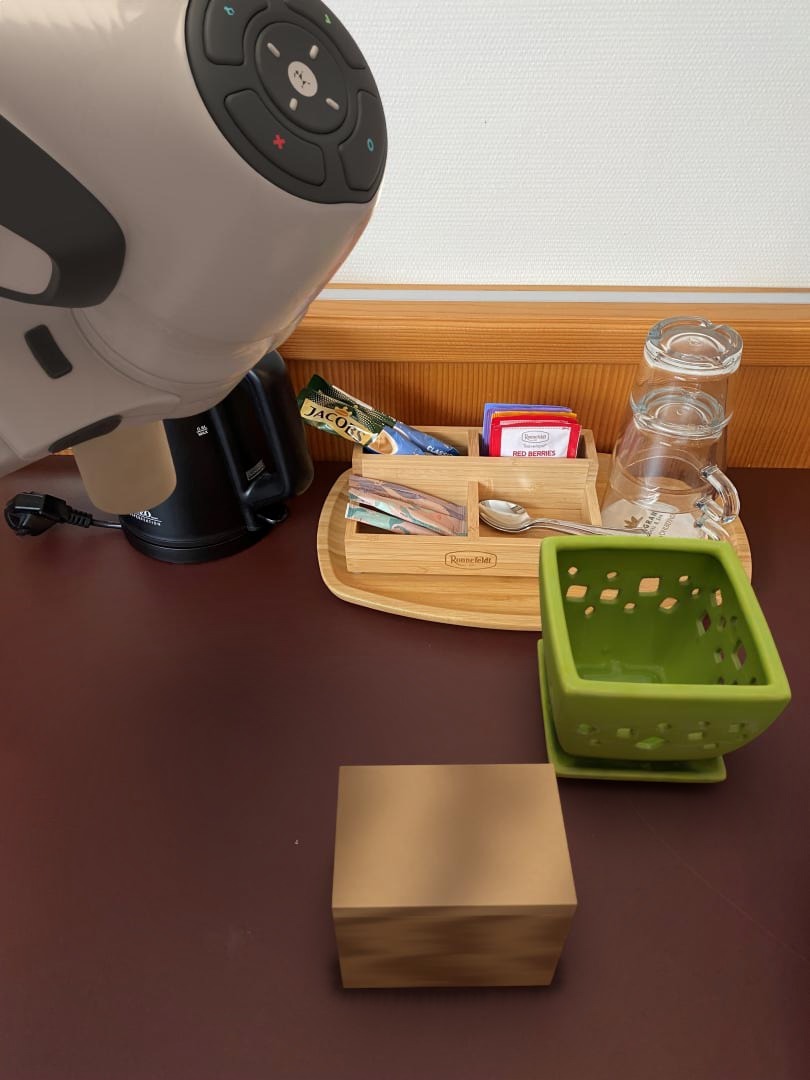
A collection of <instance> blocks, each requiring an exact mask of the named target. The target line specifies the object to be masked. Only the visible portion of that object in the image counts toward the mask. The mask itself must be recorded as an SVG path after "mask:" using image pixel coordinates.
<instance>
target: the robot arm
mask: <svg viewBox="0 0 810 1080" xmlns="http://www.w3.org/2000/svg"><path fill="white" fill-rule="evenodd" d="M349 31H350V30H348V28H347V27H346V26H345V25H344V24H343V22H342V20H341V19H339V17H338V16H337V15H336V14H335V13H334V12H333V10H332V9H331V8H330V7H329V6H328V5H327V4H326V3H325V2H324V1H323V0H0V479H1V478H3V477H5V476H7V475H10V474H11V473H13V472H15V471H18V470H20V469H21V468H24V467H27V466H29V465H31V464H33V463H35V462H37V461H39V460H41V459H44V458H46V457H49V456H50V455H55V454H58V453H60V452H62V451H65V450H68V449H69V448H71V447H73V446H75V445H78V444H80V443H83V442H85V441H88V440H91V439H94V438H97V437H100V436H103V435H106V434H108V433H110V432H112V431H116V430H120V429H125V428H130V427H135V426H140V425H145V424H150V423H154V422H157V421H160V420H162V421H163V420H165V419H166V420H167V419H168V420H169V419H172V420H173V419H181V418H187V417H192V416H195V415H199V414H201V413H203V412H206V411H208V410H210V409H212V408H213V407H215V406H216V405H218V404H219V403H221V402H222V401H223V400H224V399H225V398H226V397H227V396H228V395H229V394H230V393H231V392H232V391H233V390H234V389H235V387H236V386H238V384H239V383H240V382H241V381H242V380H243V379H244V378H245V377H246V376H247V375H248V373H250V371H251V370H252V369H253V368H254V367H255V366H256V365H257V364H258V363H259V362H260V361H261V359H262V358H264V356H265V355H268V354H270V353H271V352H273V351H274V350H276V349H278V348H279V347H281V346H282V345H283V344H284V343H285V342H286V341H288V339H289V338H290V337H291V335H292V334H293V333H294V332H295V331H296V330H297V328H298V326H299V325H300V324H301V322H303V320H304V318H305V317H306V315H307V314H308V311H309V309H310V305H311V304H312V303H313V302H314V301H315V300H316V299H317V297H318V296H319V295H320V294H321V292H323V290H324V289H325V288H326V287H327V285H328V284H329V283H330V281H331V280H332V279H333V278H334V276H335V275H336V273H338V271H339V270H340V268H341V267H342V266H343V264H345V262H346V260H347V259H348V257H349V256H350V255H351V253H352V252H353V250H354V248H355V247H356V245H357V244H358V242H359V240H360V239H361V237H362V236H363V234H364V232H365V231H366V229H367V227H368V225H369V224H370V222H371V220H372V217H373V216H374V213H375V211H376V208H377V206H378V203H379V200H380V198H381V195H382V191H383V186H384V183H385V179H386V178H385V177H386V171H387V163H388V152H389V151H388V149H389V142H388V141H389V140H388V128H387V121H386V119H387V118H386V115H385V109H384V105H383V101H382V98H381V95H380V90H379V88H378V84H377V82H376V79H375V76H374V74H373V72H372V70H371V68H370V66H369V64H368V61H367V59H366V58H365V56H364V53H363V52H362V50H361V48H360V47H359V45H358V43H357V41H356V40H355V38H354V37H353V35H351V33H350V32H349Z"/></svg>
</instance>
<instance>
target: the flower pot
mask: <svg viewBox="0 0 810 1080" xmlns="http://www.w3.org/2000/svg"><path fill="white" fill-rule="evenodd" d="M538 553H539V554H538V592H539V611H540V613H539V614H540V623H541V635H542V638H541V639H538V640H537V643H536V645H537V647H536V648H537V665H538V677H539V678H538V679H539V689H540V690H539V691H540V700H541V708H542V718H543V726H544V736H545V744H546V753H547V759H548V760H547V761H548V764H554V768H555V774H556V778H567V779H585V780H607V781H608V780H609V781H631V782H632V781H633V782H634V781H635V782H659V783H660V782H661V783H685V784H686V783H687V784H715V783H720V782H723V781H725V780H726V779H727V769H726V765H725V762H724V759H723V755H726V754H729V753H731V752H734V751H735V750H738V749H740V748H741V747H743V746H745V745H747V744H748V743H750V742H752V741H753V740H755V739H756V738H757V737H759V736H760V735H761V734H763V733H764V732H765V731H766V730H767V729H768V728H769V727H770V726H771V725H772V724H773V723H774V722H775V721H776V719H777V718H778V717H779V716H780V715H781V714H782V712H783V711H784V710H785V708H786V707H787V706H788V704H789V703H790V701H791V699H792V691H791V687H790V684H789V681H788V677H787V674H786V672H785V669H784V666H783V663H782V660H781V657H780V654H779V651H778V649H777V646H776V643H775V641H774V638H773V635H772V632H771V629H770V628H769V625H768V622H767V620H766V617H765V615H764V611H763V610H762V608H761V605H760V603H759V600H758V598H757V596H756V594H755V591H754V589H753V586H752V584H751V582H750V579H749V577H748V575H747V572H746V570H745V568H744V566H743V565H742V564H743V563H742V562H741V560H740V558H739V556H738V554H737V552H736V550H735V548H734V546H733V545H732V544H731V543H729V542H728V541H724V540H717V539H705V538H693V537H692V538H691V537H676V536H675V537H673V536H648V535H622V534H621V535H619V534H617V535H615V534H614V535H613V534H612V535H608V534H607V535H606V534H605V535H602V534H599V535H598V534H573V535H571V534H570V535H553V536H552V535H551V536H546V537H543V538H542V540H541V542H540V547H539V552H538ZM572 568H575V569H576V571H575V572H574V573H571V572H570V570H571V569H572ZM613 573H616V574H615V575H613V576H611V577H608V575H609V574H613ZM682 577H687V578H686V580H680V579H681V578H682ZM644 579H658V584H657V588H656V590H654V591H640V586H641V582H642V581H643V580H644ZM572 586H573V587H574V586H576V587H585V588H586V589H585V592H584V594H583V596H567V595H568V591H569V589H570V588H571V587H572ZM606 590H609V591H610V590H612V591H617V593H616V596H615V597H614V598H612V599H608V598H607V599H606V598H601V596H602V594H603V592H604V591H606ZM695 590H697V591H696V593H694V591H695ZM718 591H720V598H721V603H719V604H718V600H717V596H716V595H717V592H718ZM667 599H673V600H676V601H675V602H674V603H673V604H672V606H671V607H669V608H666V607H663V606H661V605H662V604H663V603H664V601H665V600H667ZM628 604H632V605H634V606H632V607H631V608H627V605H628ZM589 608H592V610H591V611H590V612H589V613H586V611H587V610H588V609H589ZM707 615H708V618H709V622H710V625H709V627H708V628H707V630H706V631H705V628H704V625H703V624H704V623H703V620H704V618H705V617H706V616H707ZM742 646H743V649H744V653H745V656H746V657H745V659H744V661H743V663H742V664H741V662H740V661H741V660H740V658H739V656H738V653H739V650H740V649H741V647H742ZM721 653H722V654H723V658H722V654H721ZM722 682H723V684H722Z"/></svg>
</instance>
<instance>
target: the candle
mask: <svg viewBox="0 0 810 1080" xmlns="http://www.w3.org/2000/svg"><path fill="white" fill-rule="evenodd" d="M70 448H71V451H72V454H73V456H74V459H75V463H76V465H77V468H78V471H79V473H80V476H81V479H82V483H83V484H84V488H85V490H86V493H87V495H88V498H89V500H90V501H91V503H92V504H93V506H95V507H96V508H97V509H98V510H100V511H102V512H103V513H104V512H105V513H107V514H112V515H133V514H138V513H142V512H146V511H149V510H152V509H154V508H156V507H157V506H160V505H161V504H162V503H164V502H165V501H166V500H167V499H169V497H171V496H172V494H173V492H174V491H175V489H176V486H177V474H176V469H175V465H174V461H173V457H172V454H171V453H172V452H171V449H170V445H169V442H168V437H167V433H166V429H165V426H164V421H163V420H160V421H157V422H154V423H150V424H145V425H140V426H135V427H130V428H125V429H120V430H116V431H112V432H110V433H108V434H106V435H103V436H100V437H97V438H94V439H91V440H88V441H85V442H83V443H80V444H78V445H75V446H73V447H70Z"/></svg>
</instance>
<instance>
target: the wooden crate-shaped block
mask: <svg viewBox="0 0 810 1080" xmlns="http://www.w3.org/2000/svg"><path fill="white" fill-rule="evenodd" d="M334 836H335V837H334V852H333V853H334V855H333V857H334V858H333V874H332V893H331V913H332V921H333V927H334V934H335V940H336V946H337V955H338V961H339V962H338V963H339V967H340V968H339V969H340V975H341V982H342V988H343V989H379V988H380V989H384V988H389V989H391V988H447V987H448V988H452V987H454V988H456V987H459V988H460V987H512V986H513V987H521V986H525V987H526V986H530V987H531V986H550V985H551V984H552V981H553V977H554V975H555V971H556V968H557V966H558V963H559V960H560V957H561V954H562V951H563V949H564V946H565V942H566V939H567V937H568V934H569V931H570V928H571V925H572V922H573V919H574V916H575V912H576V910H577V908H578V904H579V903H578V898H577V897H578V896H577V892H576V885H575V880H574V874H573V868H572V862H571V856H570V851H569V850H570V849H569V845H568V840H567V832H566V827H565V821H564V815H563V810H562V804H561V798H560V792H559V785H558V779H557V776H556V774H555V768H554V764H549V763H503V764H502V763H499V764H498V763H497V764H495V763H491V764H488V763H487V764H414V765H413V764H411V765H410V764H409V765H407V764H404V765H402V764H401V765H397V764H396V765H340V766H339V767H338V781H337V798H336V817H335V835H334Z"/></svg>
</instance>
